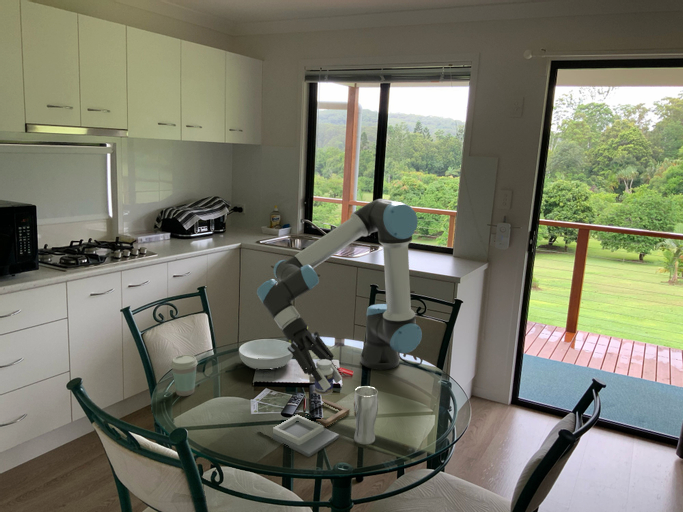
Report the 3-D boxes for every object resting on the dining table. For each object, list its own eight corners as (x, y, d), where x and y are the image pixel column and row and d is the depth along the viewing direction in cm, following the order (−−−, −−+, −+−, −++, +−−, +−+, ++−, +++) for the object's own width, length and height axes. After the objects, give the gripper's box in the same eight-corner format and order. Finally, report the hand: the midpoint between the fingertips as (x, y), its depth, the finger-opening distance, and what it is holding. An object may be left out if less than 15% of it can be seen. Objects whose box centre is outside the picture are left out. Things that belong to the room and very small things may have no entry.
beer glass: (351, 432, 160) (352, 385, 156) (374, 432, 160) (376, 385, 157) (353, 445, 153) (355, 396, 150) (378, 445, 153) (380, 396, 150)
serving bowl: (304, 362, 210) (305, 345, 208) (271, 381, 192) (271, 363, 191) (262, 350, 220) (262, 334, 219) (227, 368, 202) (226, 350, 201)
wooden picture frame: (321, 402, 178) (321, 398, 177) (349, 413, 171) (349, 409, 170) (297, 415, 169) (297, 411, 168) (326, 427, 162) (326, 423, 162)
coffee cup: (190, 384, 188) (189, 352, 186) (203, 392, 182) (202, 359, 180) (167, 391, 182) (165, 358, 180) (179, 400, 176) (178, 366, 174)
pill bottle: (330, 397, 165) (331, 366, 163) (312, 395, 166) (312, 364, 164) (334, 388, 170) (335, 359, 168) (317, 386, 171) (317, 357, 169)
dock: (288, 415, 169) (288, 407, 168) (338, 437, 157) (339, 429, 156) (258, 431, 159) (258, 424, 158) (309, 457, 147) (309, 448, 146)
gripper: (302, 321, 180) (343, 379, 175) (265, 338, 165) (308, 402, 160) (315, 309, 176) (357, 368, 171) (278, 325, 161) (323, 390, 156)
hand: (333, 384), depth 165 cm, fingers closed on pill bottle, 6 cm apart
